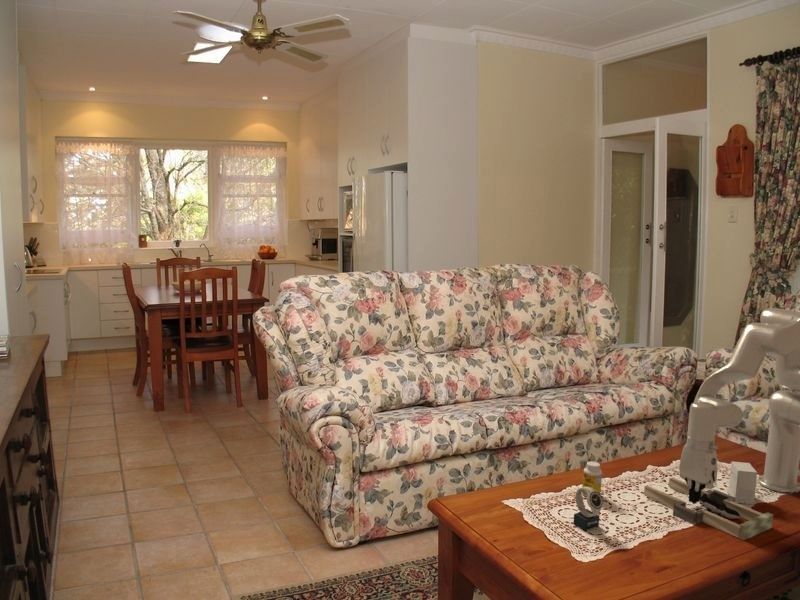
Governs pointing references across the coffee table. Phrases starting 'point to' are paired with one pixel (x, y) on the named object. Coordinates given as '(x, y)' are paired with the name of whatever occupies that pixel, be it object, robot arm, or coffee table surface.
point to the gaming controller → (718, 508)
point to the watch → (586, 517)
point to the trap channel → (743, 531)
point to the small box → (742, 482)
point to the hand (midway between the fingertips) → (694, 501)
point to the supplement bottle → (592, 477)
